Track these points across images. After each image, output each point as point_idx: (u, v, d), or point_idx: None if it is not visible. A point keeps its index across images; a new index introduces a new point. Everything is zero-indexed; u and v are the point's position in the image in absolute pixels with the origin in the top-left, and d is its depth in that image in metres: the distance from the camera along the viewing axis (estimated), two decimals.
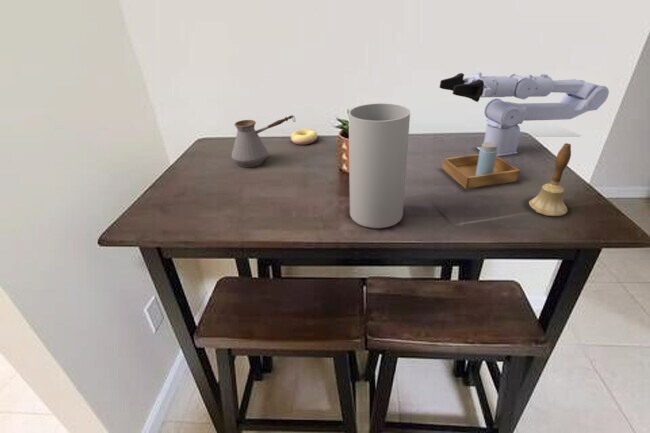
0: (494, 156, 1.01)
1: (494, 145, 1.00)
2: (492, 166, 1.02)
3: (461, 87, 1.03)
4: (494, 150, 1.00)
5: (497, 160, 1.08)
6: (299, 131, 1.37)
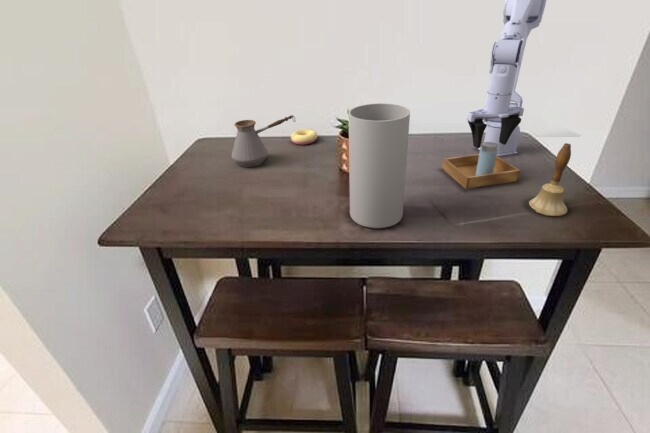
0: (494, 156, 1.01)
1: (494, 145, 1.00)
2: (492, 166, 1.02)
3: None
4: (494, 150, 1.00)
5: (497, 160, 1.08)
6: (299, 131, 1.37)
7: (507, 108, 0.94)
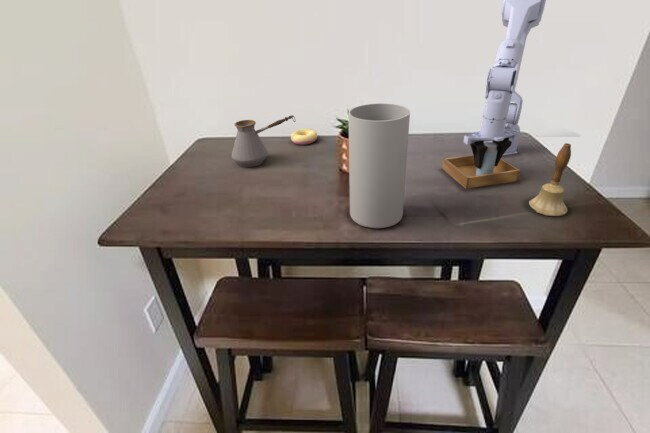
0: (494, 156, 1.01)
1: (494, 145, 1.00)
2: (492, 166, 1.02)
3: None
4: (494, 150, 1.00)
5: None
6: (299, 131, 1.37)
7: (502, 132, 0.97)
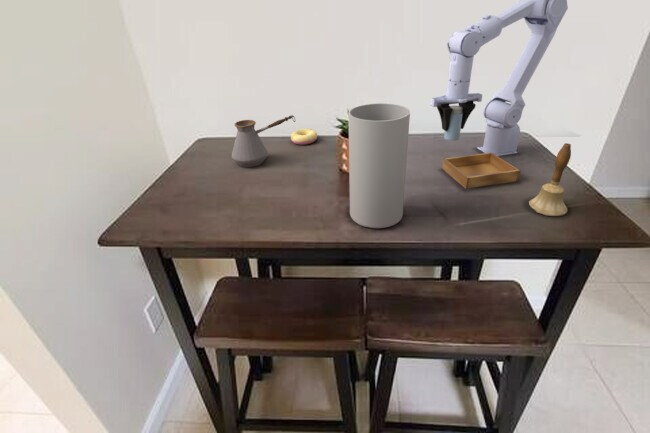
0: (460, 118, 1.07)
1: (459, 108, 1.06)
2: (458, 128, 1.08)
3: None
4: (459, 112, 1.06)
5: (497, 160, 1.08)
6: (299, 131, 1.37)
7: (466, 94, 1.03)
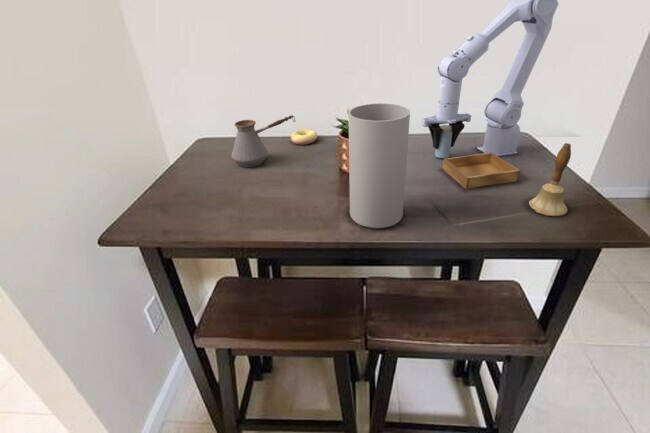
0: (449, 137, 1.12)
1: (449, 127, 1.12)
2: (448, 147, 1.14)
3: None
4: (449, 132, 1.12)
5: (497, 160, 1.08)
6: (299, 131, 1.37)
7: (455, 115, 1.08)
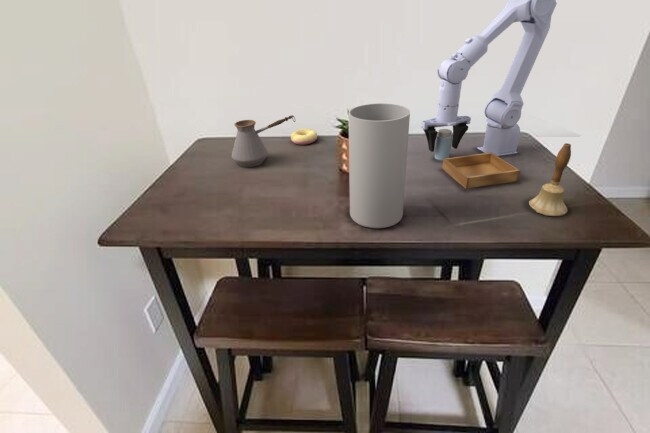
0: (449, 141, 1.13)
1: (449, 131, 1.12)
2: (448, 150, 1.14)
3: None
4: (449, 136, 1.12)
5: (497, 160, 1.08)
6: (299, 131, 1.37)
7: (455, 117, 1.09)
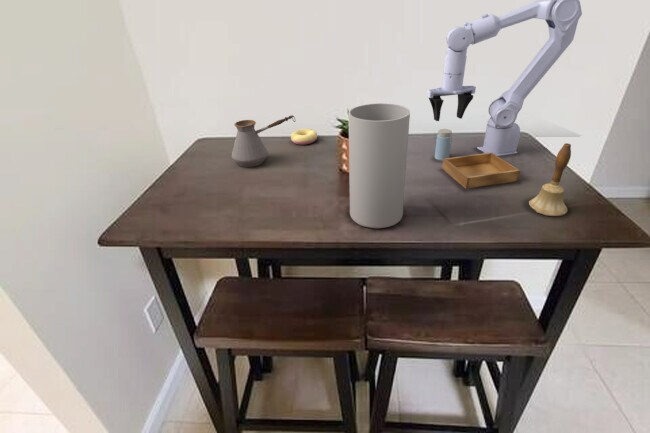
0: (449, 141, 1.13)
1: (449, 131, 1.12)
2: (448, 150, 1.14)
3: None
4: (449, 136, 1.12)
5: (497, 160, 1.08)
6: (299, 131, 1.37)
7: (460, 86, 1.11)
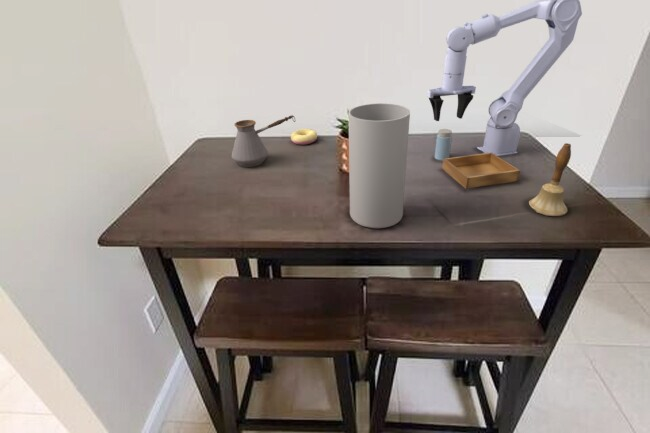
0: (449, 141, 1.13)
1: (449, 131, 1.12)
2: (448, 150, 1.14)
3: None
4: (449, 136, 1.12)
5: (497, 160, 1.08)
6: (299, 131, 1.37)
7: (460, 86, 1.11)
